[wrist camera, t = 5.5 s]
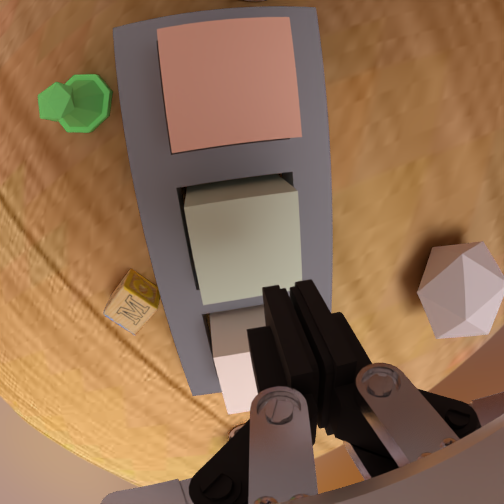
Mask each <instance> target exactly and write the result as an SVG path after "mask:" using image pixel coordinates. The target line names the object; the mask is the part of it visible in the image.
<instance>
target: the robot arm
mask: <svg viewBox="0 0 504 504" xmlns="http://www.w3.org/2000/svg"><path fill="white" fill-rule="evenodd" d="M262 294H263V304H264V314H265V324H266V326H263V327H257V328H251V329H247V337H248V344H249V350H250V356H251V362H252V367H253V372H254V377H255V382H256V387H257V392H258V395H256V396H255V398H254V399H253V401H252V403H251V407H250V419H249V420H248V421H247V422H246V423H245V424H244V425H243V426H242V428H241V429H240V430H239V431H238V432H237V433H236V434H235V435H234V436H233V437H232V438H231V439H230V440H229V441H228V442H227V443H226V444H225V445H224V446H223V447H222V448H221V449H220V450H219V451H218V452H217V453H216V454H215V455H214V456H213V457H212V458H211V459H210V460H209V461H208V462H207V463H206V464H205V465H204V466H203V467H202V468H201V469H200V470H199V471H198V472H197V473H196V474H195V475H194V476H193V478H190V479H186V480H182V481H179V480H178V479H175V480H171V481H167V482H163V483H158V484H154V485H149V486H144V487H139V488H133V489H128V490H122V491H116V492H113V493H110V494H108V495H107V496H106V497H105V498H104V499H103V500H102V503H101V504H504V392H501V393H498V394H494V395H491V396H487V397H483V398H480V399H475V400H472V401H471V402H470V404H466V403H464V402H461V401H458V400H455V399H451V398H447V397H444V396H440V395H437V394H433V393H429V392H427V391H423V390H420V389H417V388H416V387H415V386H414V385H413V384H412V383H411V381H410V380H409V379H408V378H407V377H406V376H405V375H404V373H403V372H402V371H401V370H399V369H398V368H397V367H395V366H393V365H391V364H386V363H374V364H372V363H371V361H370V359H369V358H368V356H367V354H366V352H365V351H364V349H363V347H362V346H361V344H360V342H359V340H358V339H357V337H356V335H355V334H354V332H353V330H352V329H351V327H350V325H349V324H348V322H347V320H346V319H345V317H344V315H343V314H342V313H341V312H337V313H332V314H331V312H330V310H329V309H328V307H327V305H326V303H325V301H324V300H323V298H322V296H321V294H320V293H319V291H318V289H317V287H316V286H315V284H314V282H313V281H312V279H309V280H303V281H297V282H295V286H293V287H290V297H289V295H288V292H287V290H286V288H282V289H280V287H279V285H274V286H268V287H262ZM317 425H318V427H319V428H325V430H326V433H327V436H328V435H332V434H334V435H335V437H336V438H338V439H340V440H343V443H344V446H345V448H346V450H347V451H348V453H349V455H350V456H351V458H352V459H353V461H354V463H355V464H356V466H357V468H358V469H359V471H360V473H361V474H362V476H363V477H364V479H365V481H362V482H359V483H355V484H352V485H349V486H346V487H342V488H339V489H336V490H332V491H328V492H324V493H321V494H318V489H317V480H316V473H315V472H316V471H315V463H314V454H313V445H314V443H315V438H316V428H317Z"/></svg>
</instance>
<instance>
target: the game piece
mask: <svg viewBox="0 0 504 504" xmlns="http://www.w3.org/2000/svg"><path fill="white" fill-rule="evenodd" d="M112 94H113V92H112V90H111V89H110V88H109V87H108V85H107V84H106V83H105V82H104V80H103V79H102V78H101V77H100V76H99V75H97V74H85V75H73V76H72V77H71V78H70V79H69V80H68V81H67V82H66V83H65V84H62V83H59V82H55V83H54V84H52V85H51V86H50V87H48V88H47V89H46V90H44V91H43V92H42V93H40V94H39V95H38V104H39V113H40V118H41V119H46V120H51V121H56V122H57V121H59V123H60V124H61V125H62V126H63V128H64V129H65V130H66V131H67V132H84V133H89V132H93V131H94V130H95V129H96V128H97V127H98V126H99V125H100V124H101V123H102V122H103V121H104V120H105V119H106V118H108V117H109V116H110V109H111V101H112Z"/></svg>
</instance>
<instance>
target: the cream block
mask: <svg viewBox="0 0 504 504" xmlns="http://www.w3.org/2000/svg"><path fill="white" fill-rule="evenodd" d="M210 325H211V338H212V349H213V359H214V363H215V367H216V371H217V375H218V378H219V382H220V386H221V390H222V394H223V397H224V401H225V405H226V408H227V412H228V414H234V413H241V412H247V411H250V407H251V403H252V401H253V399H254V398H255V396H256V395H258V392H257V387H256V382H255V377H254V372H253V367H252V362H251V356H250V350H249V344H248V337H247V329H251V328H257V327H263V326H266V324H265V314H264V304H262V305H256V306H250V307H244V308H238V309H232V310H226V311H220V312H214V313H210Z"/></svg>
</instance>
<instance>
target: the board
mask: <svg viewBox="0 0 504 504" xmlns="http://www.w3.org/2000/svg"><path fill="white" fill-rule="evenodd" d="M256 17H289V18H290V25H291V33H292V41H293V49H294V58H295V67H296V76H297V86H298V96H299V107H300V118H301V130H302V137H295V138H284V139H273V140H263V141H254V142H246V143H237V144H230V145H222V146H215V147H208V148H202V149H195V150H189V151H183V152H177V153H172V150H171V144H170V137H169V130H168V123H167V116H166V108H165V100H164V93H163V84H162V76H161V67H160V58H159V48H158V38H157V29H160V28H165V27H171V26H177V25H183V24H190V23H197V22H206V21H215V20H225V19H238V18H256ZM113 39H114V51H115V62H116V72H117V81H118V90H119V98H120V105H121V113H122V120H123V126H124V133H125V139H126V145H127V151H128V157H129V162H130V168H131V173H132V178H133V184H134V189H135V194H136V198H137V203H138V208H139V212H140V217H141V221H142V226H143V230H144V234H145V239H146V243H147V247H148V251H149V255H150V259H151V263H152V267H153V270H154V274H155V278H156V282H157V285H158V289H159V292H160V296H161V300H162V303H163V306H164V310H165V313H166V317H167V320H168V323H169V327H170V330H171V333H172V336H173V339H174V342H175V346H176V349H177V352H178V355H179V358H180V361H181V364H182V367H183V370H184V373H185V375H186V378H187V381H188V384H189V387H190V390H191V392H192V395H193V396H196V395H204V394H212V393H219V392H222V390H221V386H220V382H219V378H218V375H217V371H216V367H215V363H214V359H213V349H212V339H211V335H210V331H209V326H208V322H207V318H206V314H207V313H214V312H220V311H226V310H232V309H238V308H244V307H250V306H256V305H262V304H263V295H262V296H257V297H251V298H245V299H239V300H233V301H227V302H220V303H214V304H208V305H203V302H202V297H201V292H200V288H199V283H198V278H197V273H196V269H195V264H194V259H193V254H192V248H191V243H190V238H189V233H188V227H187V222H186V217H185V211H184V202H183V196H182V190H181V187H185V186H191V185H198V184H204V183H210V182H217V181H224V180H230V179H238V178H245V177H252V176H260V175H268V174H276V173H282V178H283V179H284V180H285V181H286V182H288V183H289V184H290V185H291V186H293V187H294V188H295V189H296V190H297V191H298V200H299V218H300V238H301V261H302V281H303V280H309V279H312V281H313V282H314V284H315V286H316V287H317V289H318V291H319V293H320V294H321V296H322V298H323V300H324V301H325V303H326V305H327V307H328V309H329V310H330V312H331V303H332V184H331V160H330V141H329V125H328V112H327V99H326V88H325V78H324V68H323V59H322V50H321V42H320V34H319V26H318V19H317V12H316V8H314V7H286V6H270V7H241V8H227V9H216V10H206V11H198V12H190V13H183V14H177V15H171V16H165V17H160V18H155V19H150V20H145V21H140V22H136V23H131V24H127V25H123V26H119V27H116V28H113ZM287 292H288V295H289V297H290V291H287Z"/></svg>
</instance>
